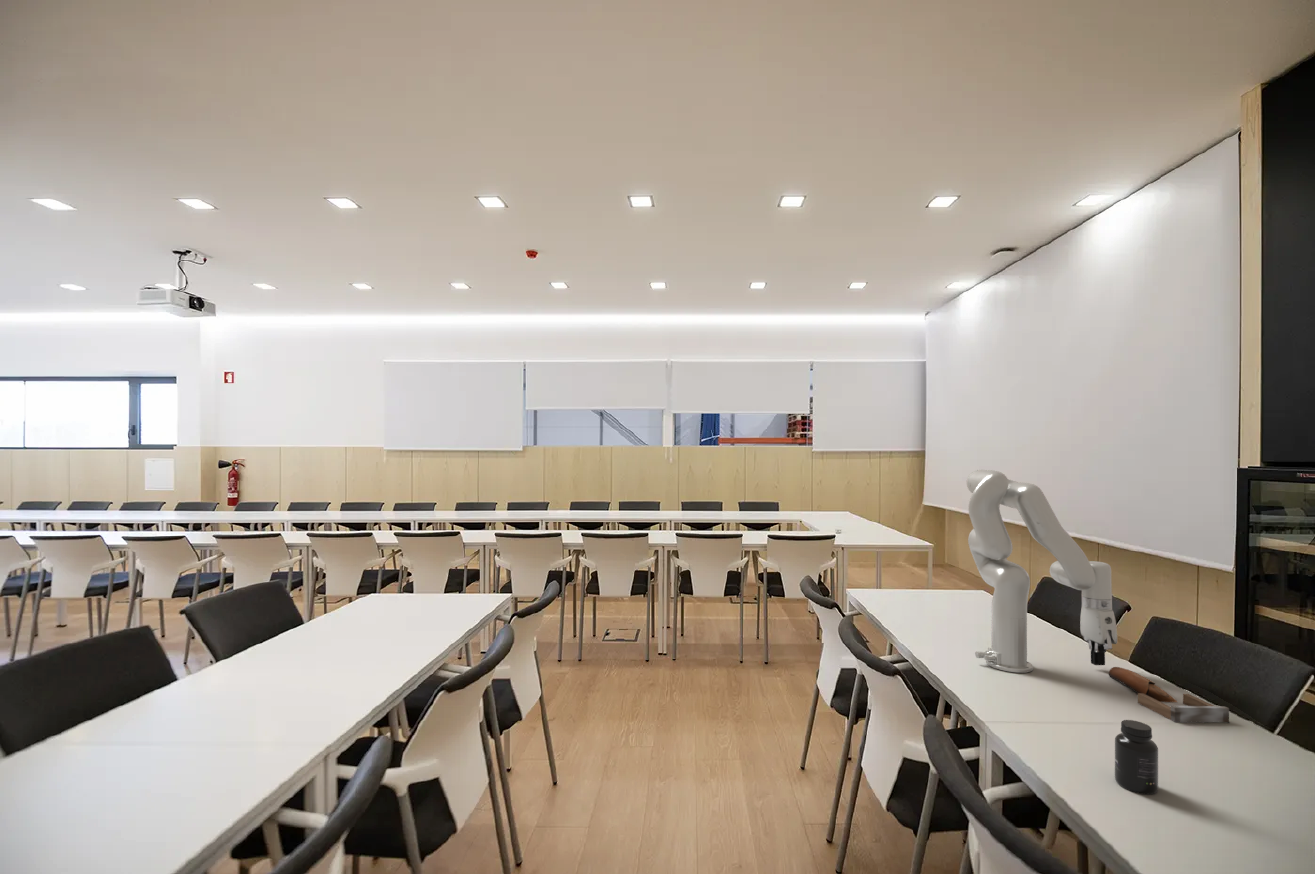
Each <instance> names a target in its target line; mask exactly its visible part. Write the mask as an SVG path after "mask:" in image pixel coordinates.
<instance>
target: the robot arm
mask: <svg viewBox="0 0 1315 874" xmlns="http://www.w3.org/2000/svg"><path fill="white" fill-rule="evenodd" d="M966 487H967V489H968V491H969V492H970V493H971V496H970V499H969V500H968V501H969V502H968V515H969V519H970V522H971V525H972V529H971V531H970V532H969V535H968V537H967V538H968V539H967V543H968V547H969V550H970V554H971V555H972V559H973V561H974V563H975V566H976V568H977V571H978V572H979V575H980V577H981V579H982V580H983V581H984V582H985V583H986V585H989V586H990V587H992V588H994V591H993V595H992V598H991V606H990V607H991V611H990V612H991V644H990V645H991V647H988V648H987V650H985V651H975V653H974V654H975V658H976V659H983V660H985V663H986V665H988V666H989V667H991V668H994V669H996V670H1000V671H1005V672H1008V673H1009V672H1010V673H1022V674H1024V673H1030V672H1032V671H1033V670H1034V665H1033V664H1032V663H1031V662H1029V661H1028V600H1029V593H1030V589H1031V579H1030V575H1029V573H1028V572H1027V570H1026V569H1025V568H1024V567H1023V566H1021V565H1020V564H1018V563H1016V562H1013V561H1011V560H1008V559H1007V558H1009V557H1010V556H1011V554H1012V553H1013V541H1012V539H1011V537H1010V535H1009V533H1008V530H1007V527H1006V525H1005V523H1004V520H1003V517H1002V514H1001V510H1000V506H1005V507H1009V508H1012V509H1015V510H1017V511H1018V513H1019V515H1020V516H1021V518H1022V521H1023V522H1024V524H1025V525H1026V528H1027V530H1028V531H1029V533H1030V536H1031V537H1032V538H1033V539H1034V540H1035V541H1036V542H1037V543H1038V544H1040V545H1041V547H1043V548H1045V549H1046V550H1048V552H1050V553H1051V555H1052V556H1053V557H1054V558H1055V559H1056V560H1055V561H1054V562H1052V563H1051V565H1050V567H1049V575H1050V577H1051V578H1052V579H1053V580H1054V581H1055V582H1056V583H1059V584H1061V585H1064V586H1066V587H1070V588H1072V589H1075V590H1077V591H1081V610H1080V619H1079V621H1080V624H1079V626H1080V627H1079V628H1080V635H1081V636H1082V637H1083V640H1084V641H1086V642H1087V644H1088V649H1089V650H1090V663H1091V664H1092V665H1094V666H1105V665H1106V652H1107V650H1112V649H1113V645H1116V644H1118V630H1117V621H1116V617H1115V613H1114V610H1113V593H1112V592H1113V589H1112V587H1113V586H1112V567H1111V565H1110V564H1109V563H1107V562H1102V561H1097V560H1096V561H1093V560H1091V561H1090V560H1089V558H1088V557H1087V555H1086V553H1085V552H1084V551H1083V550H1082V548H1081V546H1079V544H1078V543H1077V541H1076V540H1074V539H1073V537H1071V535H1070V534H1069V533H1068V532H1067V531H1066V530H1065V529H1064V528H1063V526H1062V524H1061V523H1060V521H1059V519H1058V518H1057V516H1056V513H1055V512H1054V510H1053V507H1052V506H1051V505H1050V503H1049V501H1048V500H1047V498H1046V495H1045V494H1044V492H1043V491H1042V489H1041V488H1040V487H1039V486H1038V485H1036V484H1034V483H1029V482H1019V481H1016V480H1011V479H1008V477H1007V475H1005V474H1004V473H1002V472H1000V471H998V470H993V469H992V470H990V469H989V470H987V469H979V470H978V469H977V470H974V471H972V472H971V473H970V474H969V475H968V476H967V478H966Z"/></svg>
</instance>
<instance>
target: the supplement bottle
mask: <svg viewBox="0 0 1315 874" xmlns="http://www.w3.org/2000/svg"><path fill="white" fill-rule="evenodd" d="M1152 730H1153V729H1152V727H1151V726H1150V725H1148V724H1147V723H1144V722H1142V721H1137V720H1133V719H1124V720H1121V722H1120V732H1121V733H1119V734H1116V736H1115V738H1114V780H1115V782H1116V783H1117V785H1119V786H1120V787H1121V788H1123V789H1126V790H1127V791H1130V792H1133V793H1136V794H1141V795H1155V794H1156V793H1157V792H1158V791H1159V747H1158V745H1157V744H1156V743H1155V741H1153V740H1152V739H1153V733H1152V732H1153V731H1152Z"/></svg>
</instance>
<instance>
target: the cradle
mask: <svg viewBox="0 0 1315 874" xmlns="http://www.w3.org/2000/svg"><path fill="white" fill-rule="evenodd" d="M1137 703H1138V704H1139V705H1141V706H1143V707H1145V708H1147V709H1149V710H1151V711H1152V712H1154V713H1156V714H1159V715H1160V716H1162V717H1164V718H1166V719H1168V720H1170V721H1172V722H1174V723H1204V722H1229V723H1230V708H1229V707H1227V706H1223V705H1218V706H1217V705H1215V704H1212V703H1209V702H1207V701H1205V700H1202V699H1201V698H1199V697H1196V696H1194V695H1192V694H1189V693H1182V704H1184V705H1170V706H1169V705H1167V704H1165V702H1164V703H1163V702H1160V701H1158V700H1156V699H1154V698H1152V697H1149V696H1147V695H1145V694H1143V693H1137Z"/></svg>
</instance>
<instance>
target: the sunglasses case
mask: <svg viewBox="0 0 1315 874" xmlns="http://www.w3.org/2000/svg"><path fill="white" fill-rule="evenodd" d="M1108 676H1109V678H1112V679H1114V680H1115V681H1118V682H1120V683H1121V684H1123V685H1124V686H1126V687H1128V688H1129V689H1131V690H1132V691H1134V692H1135V693H1137V694H1138V693H1143V694H1145V695H1147V696H1149V697H1152V698H1154V699H1156V700H1158V701H1160V702H1162V703H1163V702H1164V703H1178V701H1177V700H1176V699H1175V698H1174V697H1173V696H1172V695H1171V694H1169V693H1168V692H1167V691H1165V690H1163V689H1162V688H1161V687H1159V686H1158V685H1156V682H1154V681H1152V680H1151V679H1149V678H1147V677H1145V676H1143V675H1141V674H1139V673H1137V672H1135V671H1133V670H1130V669H1126V668H1124V667H1119V666H1113V667H1111V668H1110V669H1109V671H1108Z"/></svg>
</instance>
